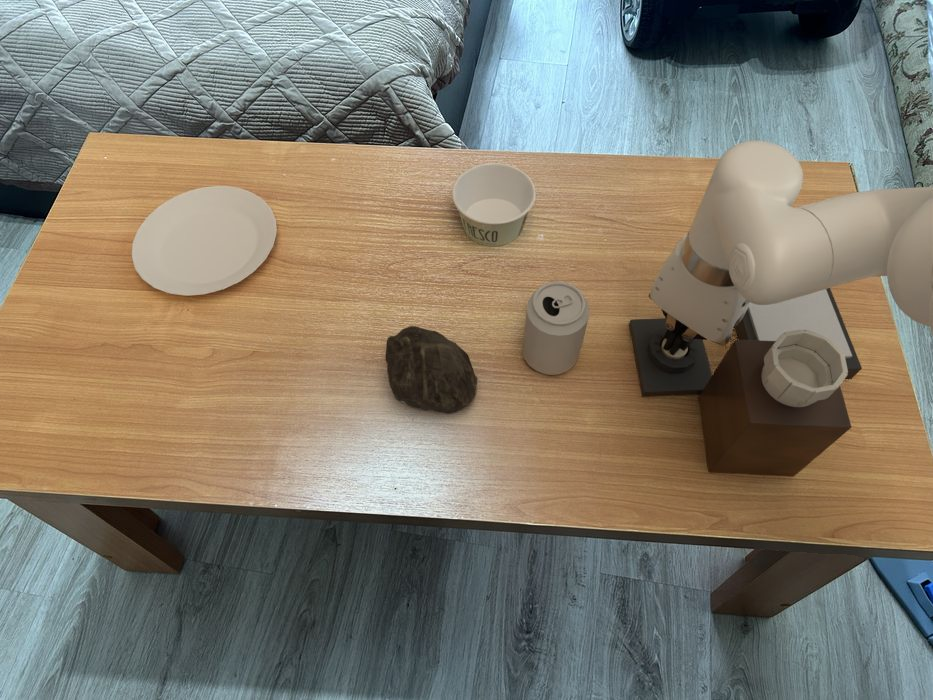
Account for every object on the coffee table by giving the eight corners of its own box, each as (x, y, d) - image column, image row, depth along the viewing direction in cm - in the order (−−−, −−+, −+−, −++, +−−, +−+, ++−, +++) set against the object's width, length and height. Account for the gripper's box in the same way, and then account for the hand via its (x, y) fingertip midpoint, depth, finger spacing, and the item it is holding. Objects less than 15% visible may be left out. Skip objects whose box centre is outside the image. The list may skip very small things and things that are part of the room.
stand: (778, 401, 82) (828, 342, 70) (794, 476, 77) (851, 427, 65) (697, 397, 83) (734, 339, 71) (708, 472, 77) (750, 423, 65)
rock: (476, 425, 80) (464, 378, 72) (388, 423, 82) (367, 377, 74) (484, 360, 86) (474, 310, 78) (402, 359, 88) (384, 310, 80)
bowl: (838, 379, 68) (860, 357, 64) (804, 425, 65) (824, 405, 61) (778, 340, 70) (795, 317, 66) (742, 384, 68) (758, 362, 64)
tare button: (686, 362, 83) (690, 356, 82) (662, 363, 83) (665, 357, 82) (682, 341, 85) (685, 334, 84) (657, 342, 85) (660, 335, 84)
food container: (539, 201, 101) (543, 169, 95) (523, 260, 95) (526, 229, 89) (464, 188, 102) (463, 156, 97) (444, 245, 96) (442, 214, 91)
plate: (177, 329, 89) (171, 320, 87) (115, 240, 98) (108, 230, 96) (306, 254, 96) (303, 244, 94) (237, 176, 105) (233, 165, 103)
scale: (851, 378, 84) (864, 366, 81) (750, 382, 84) (760, 369, 81) (815, 285, 91) (826, 270, 88) (723, 288, 91) (731, 274, 88)
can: (513, 338, 88) (518, 284, 77) (565, 323, 89) (577, 268, 78) (533, 384, 84) (540, 334, 74) (587, 369, 85) (602, 317, 75)
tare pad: (712, 394, 83) (720, 383, 80) (642, 397, 83) (647, 385, 80) (694, 322, 88) (700, 310, 86) (628, 324, 88) (632, 312, 86)
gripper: (804, 270, 66) (741, 360, 82) (679, 197, 71) (643, 295, 87) (766, 315, 63) (709, 400, 79) (639, 235, 69) (609, 329, 84)
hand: (674, 344), depth 83 cm, fingers closed
